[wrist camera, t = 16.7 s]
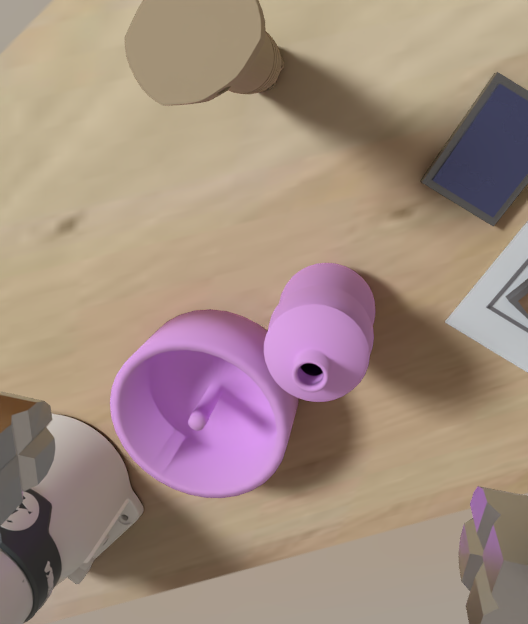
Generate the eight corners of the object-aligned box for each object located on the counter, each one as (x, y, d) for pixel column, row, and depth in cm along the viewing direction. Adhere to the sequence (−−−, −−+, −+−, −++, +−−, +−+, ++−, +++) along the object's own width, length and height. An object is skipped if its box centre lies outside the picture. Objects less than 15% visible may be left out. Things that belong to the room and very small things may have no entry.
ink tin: (490, 223, 36) (494, 227, 35) (420, 180, 36) (422, 183, 35) (571, 120, 33) (578, 121, 31) (494, 73, 32) (498, 71, 31)
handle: (317, 73, 35) (279, 49, 21) (241, 121, 37) (162, 126, 23) (285, 5, 34) (223, -67, 20) (208, 59, 36) (106, 27, 22)
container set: (219, 476, 50) (170, 589, 38) (113, 370, 48) (26, 455, 36) (424, 339, 40) (444, 435, 28) (301, 199, 38) (267, 238, 26)
